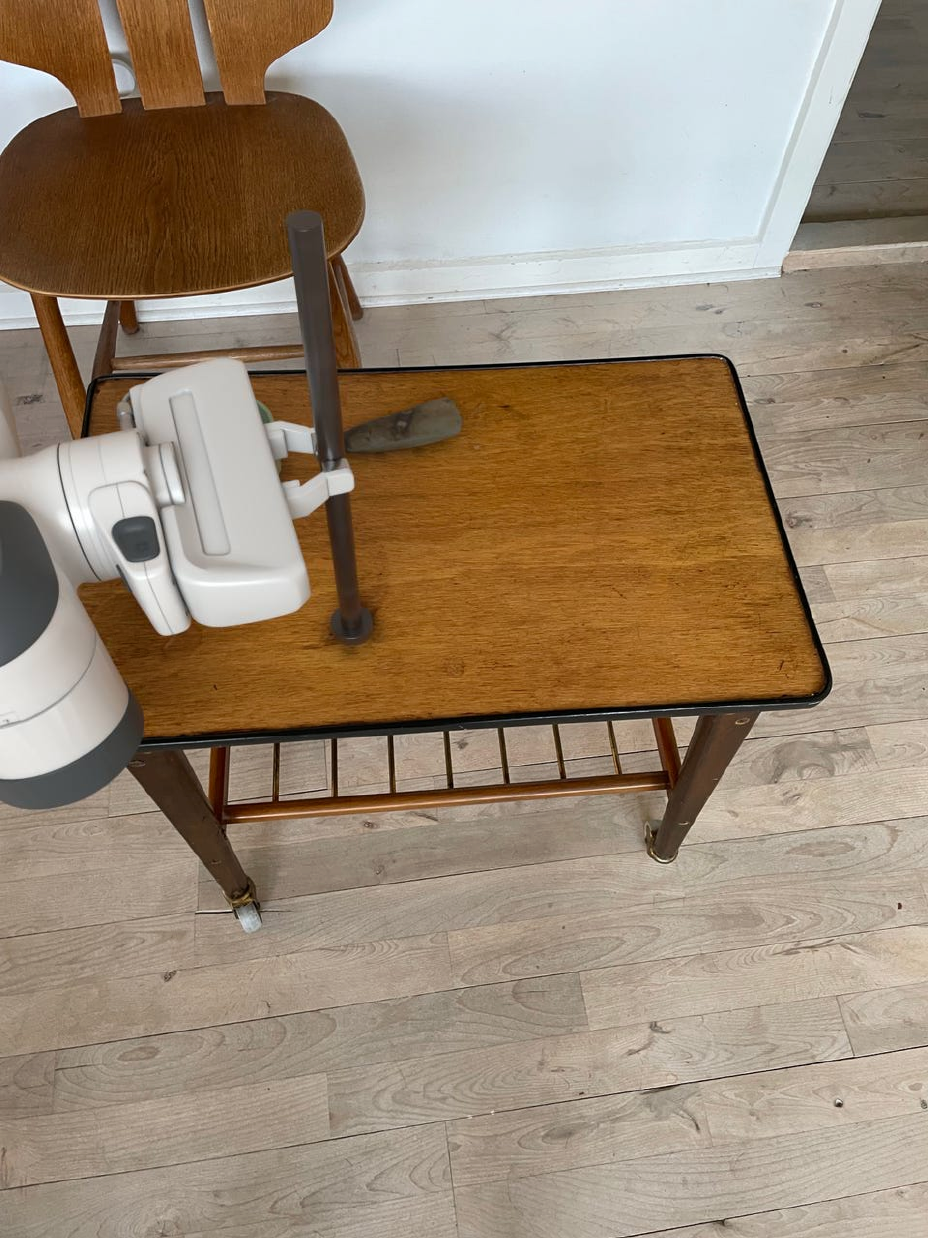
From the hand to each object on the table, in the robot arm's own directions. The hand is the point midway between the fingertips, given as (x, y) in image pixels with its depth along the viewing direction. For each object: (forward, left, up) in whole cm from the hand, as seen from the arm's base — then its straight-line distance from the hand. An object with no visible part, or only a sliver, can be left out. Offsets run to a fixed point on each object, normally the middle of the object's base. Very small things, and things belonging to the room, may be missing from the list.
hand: (345, 456), depth 56 cm
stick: (-1, -1, -21) cm, 21 cm away
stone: (-10, +22, -22) cm, 33 cm away
